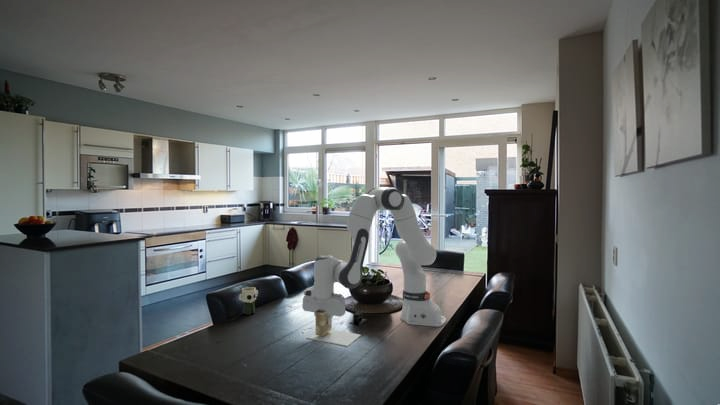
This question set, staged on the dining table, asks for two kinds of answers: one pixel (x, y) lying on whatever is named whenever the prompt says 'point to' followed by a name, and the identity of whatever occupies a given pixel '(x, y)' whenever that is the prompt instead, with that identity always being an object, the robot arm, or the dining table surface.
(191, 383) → the dining table surface
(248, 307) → the character mug
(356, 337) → the felt mat
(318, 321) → the oak slab
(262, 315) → the dining table surface
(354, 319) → the black box
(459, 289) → the dining table surface
